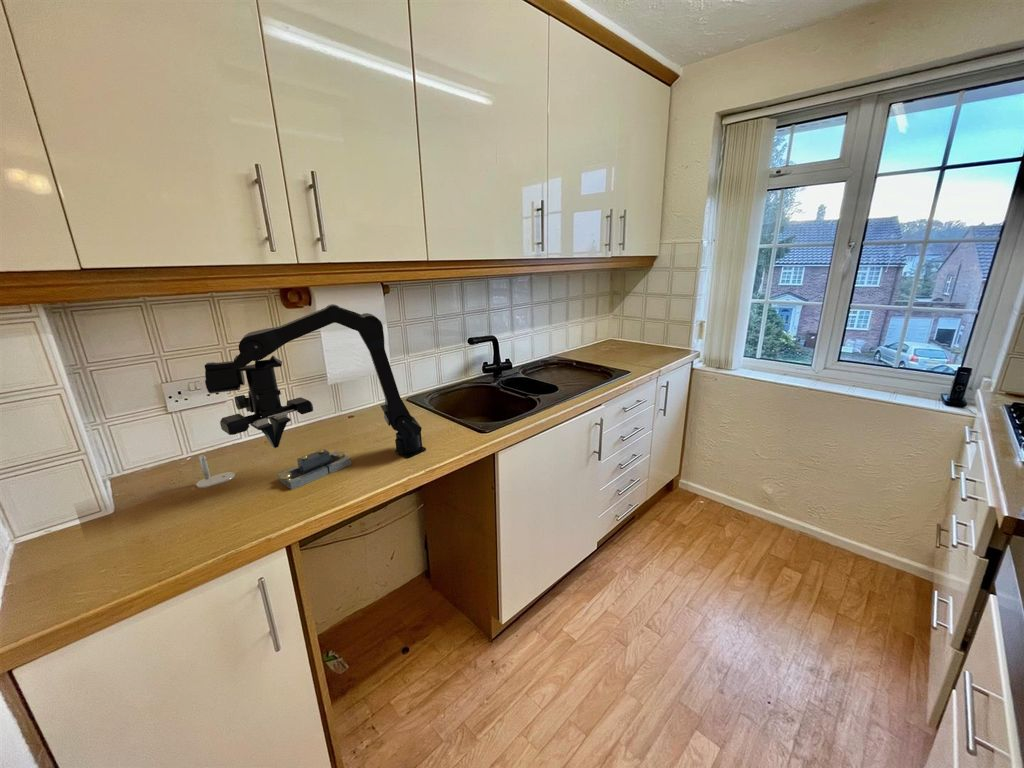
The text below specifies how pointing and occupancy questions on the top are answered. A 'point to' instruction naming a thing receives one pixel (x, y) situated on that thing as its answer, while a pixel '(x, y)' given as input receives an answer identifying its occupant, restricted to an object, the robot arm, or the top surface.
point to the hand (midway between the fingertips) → (275, 447)
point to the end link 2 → (338, 461)
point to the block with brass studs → (313, 461)
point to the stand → (212, 479)
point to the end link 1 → (301, 480)
